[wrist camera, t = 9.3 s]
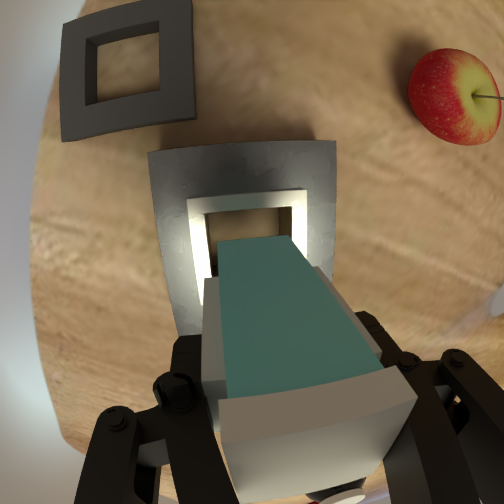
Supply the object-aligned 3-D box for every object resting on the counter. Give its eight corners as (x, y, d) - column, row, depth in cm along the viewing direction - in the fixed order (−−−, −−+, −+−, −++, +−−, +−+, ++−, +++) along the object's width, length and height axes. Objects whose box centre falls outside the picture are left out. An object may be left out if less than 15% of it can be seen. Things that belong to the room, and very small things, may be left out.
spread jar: (291, 463, 40) (306, 518, 29) (300, 430, 35) (321, 498, 25) (355, 449, 41) (376, 498, 30) (374, 414, 37) (403, 471, 26)
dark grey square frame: (75, 32, 15) (63, 24, 13) (192, 5, 16) (190, -8, 14) (75, 141, 19) (61, 142, 16) (197, 119, 20) (194, 116, 17)
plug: (213, 238, 16) (221, 443, 5) (291, 231, 16) (418, 396, 5) (220, 306, 18) (240, 503, 6) (291, 298, 18) (372, 474, 7)
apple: (456, 142, 22) (532, 157, 13) (393, 138, 22) (477, 150, 13) (449, 66, 19) (523, 59, 10) (384, 51, 19) (461, 25, 9)
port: (159, 150, 20) (146, 152, 16) (316, 139, 21) (337, 140, 17) (183, 311, 25) (179, 341, 21) (314, 297, 27) (329, 324, 23)
